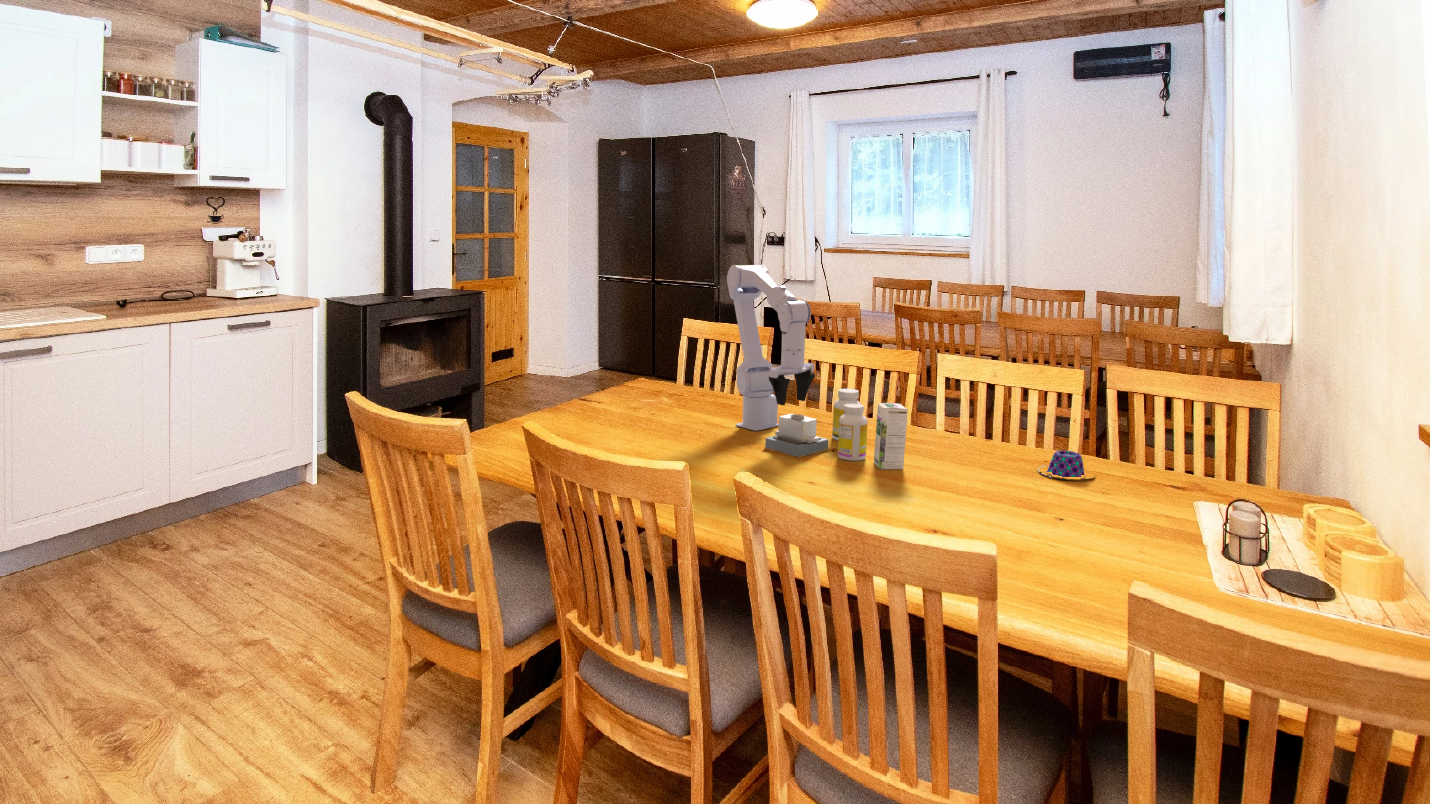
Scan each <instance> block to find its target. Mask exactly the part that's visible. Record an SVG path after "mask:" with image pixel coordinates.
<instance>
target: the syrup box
mask: <svg viewBox="0 0 1430 804" xmlns="http://www.w3.org/2000/svg"><path fill="white" fill-rule="evenodd" d="M908 411H909V409H908V408H906V407H905V406H904V405H903V404H901V403H895V402H880V403H877V415H876V426H875V439H874V440H875V441H874V450H873V451H874V456H873V464H874V465H876V467H878V469H879V470H904V464H905V451H906V440H907V439H906V437H907V436H906V435H907V427H908V426H907V424H908V423H907V422H908Z"/></svg>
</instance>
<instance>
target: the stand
mask: <svg viewBox="0 0 1430 804" xmlns="http://www.w3.org/2000/svg"><path fill="white" fill-rule="evenodd" d="M816 437H818V435H816ZM819 437H820V436H819ZM764 444H765V449H768V450H773V451H776V452H779V453H783V454H786V455H790V456H792V457H796V458H802V457H806V456H809V455H812V454H815V453H819V451H820V452H823V451H827V450H828V449H829V439H827V438H824V437H822V436H821V437H820V440H819V441H816V442H812V443H805V442H799V441H795V440H792V439H788V438H784V437H781V436H778V435H776V434H775V435H773V436H772V435H771V436H769V437H765V443H764Z"/></svg>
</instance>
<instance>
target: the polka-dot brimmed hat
mask: <svg viewBox="0 0 1430 804" xmlns="http://www.w3.org/2000/svg"><path fill="white" fill-rule="evenodd" d="M1083 461H1084V460H1083V457H1082V455H1081V454H1080V453H1078V452H1075V451H1072V450H1056V451H1055V452H1054V453H1053V454H1052V457H1051V460H1050V462H1049V464H1046V465H1045V464H1044V465H1041V466H1040V467H1044V466H1047V465H1049V467H1048V470H1047V471H1046V473H1047V472H1052V474H1053V475H1058V476H1062V477H1081V475H1084V474H1085V473H1084V469H1085V467H1084V462H1083ZM1037 471H1038V472H1039V473H1040V471H1039V467H1037ZM1041 475H1044V476H1047V475H1045V474H1043V473H1041ZM1047 477H1049V478H1052V477H1051V475H1050V476H1047Z"/></svg>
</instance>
